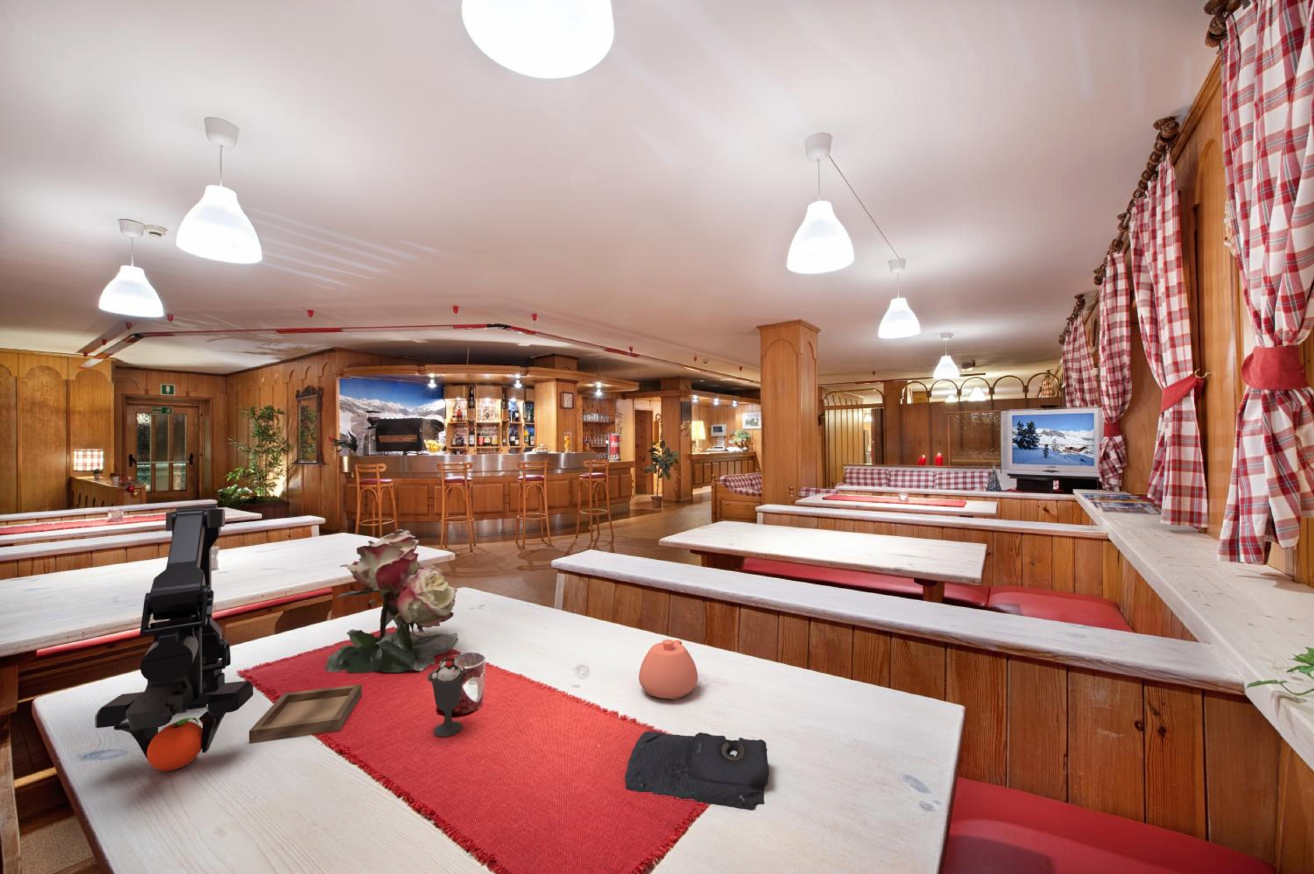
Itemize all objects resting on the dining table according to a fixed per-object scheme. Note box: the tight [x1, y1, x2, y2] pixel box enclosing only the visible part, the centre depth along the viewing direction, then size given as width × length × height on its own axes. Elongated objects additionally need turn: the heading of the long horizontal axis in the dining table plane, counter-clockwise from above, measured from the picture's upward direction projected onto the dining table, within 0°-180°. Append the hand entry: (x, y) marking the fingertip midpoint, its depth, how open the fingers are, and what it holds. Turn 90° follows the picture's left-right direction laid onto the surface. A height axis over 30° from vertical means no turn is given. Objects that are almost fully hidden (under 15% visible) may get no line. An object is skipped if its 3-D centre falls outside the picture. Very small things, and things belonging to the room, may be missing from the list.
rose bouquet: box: [313, 529, 458, 674], centre depth 130 cm, size 26×29×30 cm
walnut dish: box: [248, 683, 363, 744], centre depth 99 cm, size 14×14×2 cm
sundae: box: [427, 648, 468, 738], centre depth 94 cm, size 7×7×15 cm
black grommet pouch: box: [624, 730, 770, 811], centre depth 83 cm, size 15×22×5 cm
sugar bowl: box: [638, 638, 699, 701], centre depth 109 cm, size 12×14×10 cm
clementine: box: [146, 717, 202, 772], centre depth 85 cm, size 8×7×7 cm
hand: (178, 755), depth 85 cm, fingers closed on clementine, 7 cm apart
